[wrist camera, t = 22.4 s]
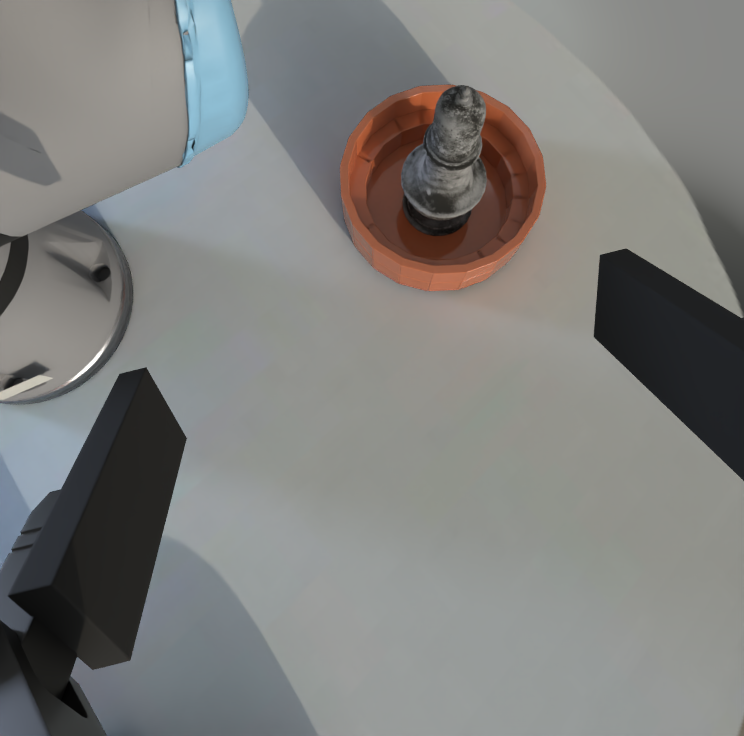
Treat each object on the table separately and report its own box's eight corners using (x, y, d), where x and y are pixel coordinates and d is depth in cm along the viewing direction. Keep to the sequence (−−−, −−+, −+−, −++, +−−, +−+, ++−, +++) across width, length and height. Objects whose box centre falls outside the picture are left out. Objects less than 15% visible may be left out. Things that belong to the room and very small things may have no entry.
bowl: (308, 230, 37) (300, 203, 33) (407, 93, 39) (411, 51, 35) (465, 328, 36) (477, 312, 32) (559, 181, 38) (582, 148, 34)
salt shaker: (455, 156, 37) (492, 20, 26) (489, 221, 37) (544, 111, 25) (385, 185, 37) (390, 62, 25) (418, 252, 36) (440, 156, 24)
